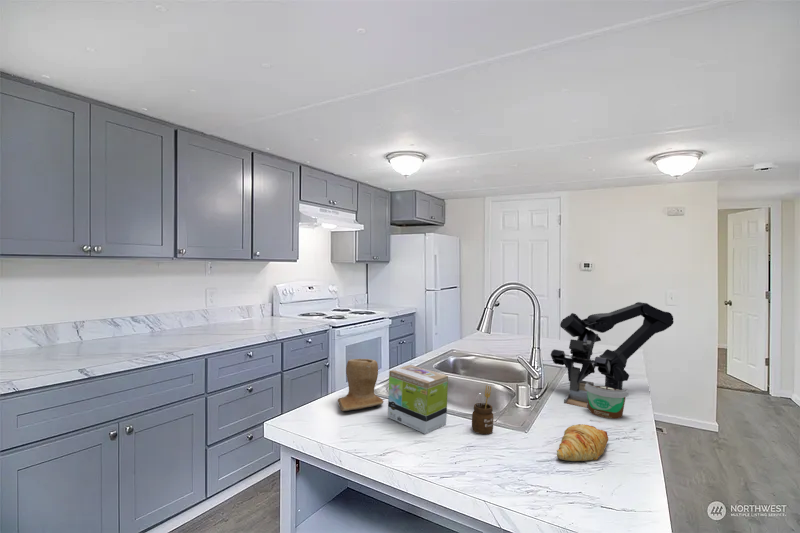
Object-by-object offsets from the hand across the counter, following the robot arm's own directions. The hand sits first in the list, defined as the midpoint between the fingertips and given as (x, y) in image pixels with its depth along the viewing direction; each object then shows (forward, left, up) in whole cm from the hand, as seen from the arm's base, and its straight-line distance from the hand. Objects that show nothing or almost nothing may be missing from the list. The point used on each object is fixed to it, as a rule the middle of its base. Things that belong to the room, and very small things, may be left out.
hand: (573, 381), depth 138 cm
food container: (+8, +11, -8) cm, 15 cm away
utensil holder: (+39, -17, -8) cm, 43 cm away
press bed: (-3, +2, -8) cm, 8 cm away
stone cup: (+45, -57, -8) cm, 73 cm away
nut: (-7, +2, -6) cm, 9 cm away
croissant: (+35, +8, -8) cm, 37 cm away
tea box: (+45, -35, -8) cm, 57 cm away
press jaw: (-1, +2, -6) cm, 6 cm away
